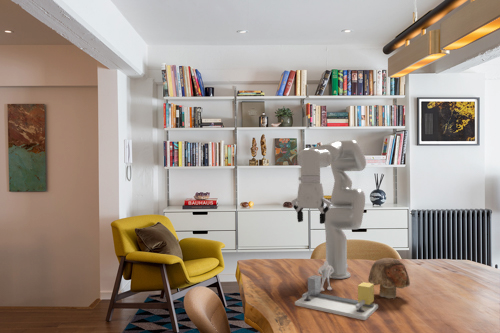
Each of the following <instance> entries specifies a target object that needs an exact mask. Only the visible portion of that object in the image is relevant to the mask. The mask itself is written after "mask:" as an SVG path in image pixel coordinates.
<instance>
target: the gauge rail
mask: <svg viewBox="0 0 500 333" xmlns="http://www.w3.org/2000/svg"><path fill="white" fill-rule="evenodd" d="M321 277H322V275H316V274H313V275H311V276H309V277H307V291H306V292H305V293H303V294H302V295H301V296H302V297H303V298H305V297H306V300H309V296H315V297H320V298H325V299H330V300H335V301H340V302H345V303H350V304H355V305H356V304H358V299H357V300H356V299H354V298H346V297H341V296H337V295H331V294H326V293H321V292H322V291H321V284H322V278H321ZM302 297H301V298H302ZM374 304H375V303H373V302H372V303H371V304H370V305H368V304H364V305H362V306H366V307H371V308H373V307H374Z"/></svg>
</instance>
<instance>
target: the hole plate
mask: <svg viewBox="0 0 500 333" xmlns="http://www.w3.org/2000/svg"><path fill="white" fill-rule="evenodd" d="M294 305H295V306H298V307H302V308H305V309H306V308H307V309H311V310H316V311H321V312H326V313H330V314H335V315H339V316H345V317H349V318H352V319H358V320H362V321H366V320H367V319H369V317H370V316H372V315H373V313H375V312H376V311H377V309H379V304H378V303H374V307H373V308H371V307H366V306H362V311H359V309H358V308H356V305H355V304H350V303H345V302H340V301H335V300H330V299H325V298H320V297H315V296H309V300H306V297H305V298H303V297H300V298H299V299H298V300H296V301H294Z"/></svg>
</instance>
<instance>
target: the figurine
mask: <svg viewBox="0 0 500 333" xmlns="http://www.w3.org/2000/svg"><path fill="white" fill-rule="evenodd" d="M330 270H331V271H330ZM317 272H318V274H319V275H320V276H321V292H325V288H324V285H325V282H327V285H328V286H327V287H326V288H327V290H328V291H332V290H333V288H332V286H331V284H330V278H329V276H330V274H332V273H333V272H334V269H333V267H332V266H330V265H328V262H327V261H326V260H325V261H323V264H322V265H321V266H320V267H319V268H318V269H317ZM330 277H331V276H330Z"/></svg>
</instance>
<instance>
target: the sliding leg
mask: <svg viewBox="0 0 500 333" xmlns="http://www.w3.org/2000/svg"><path fill="white" fill-rule="evenodd" d="M374 288H375V285H374V284H371V283H370V282H364V281H363V282H361V283H360V284H358V285H357V300H358V304H356V308H358V309H359V311H362V305H364V304H368V305H370V304H371V303H373V302H374V301H375V289H374Z"/></svg>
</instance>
